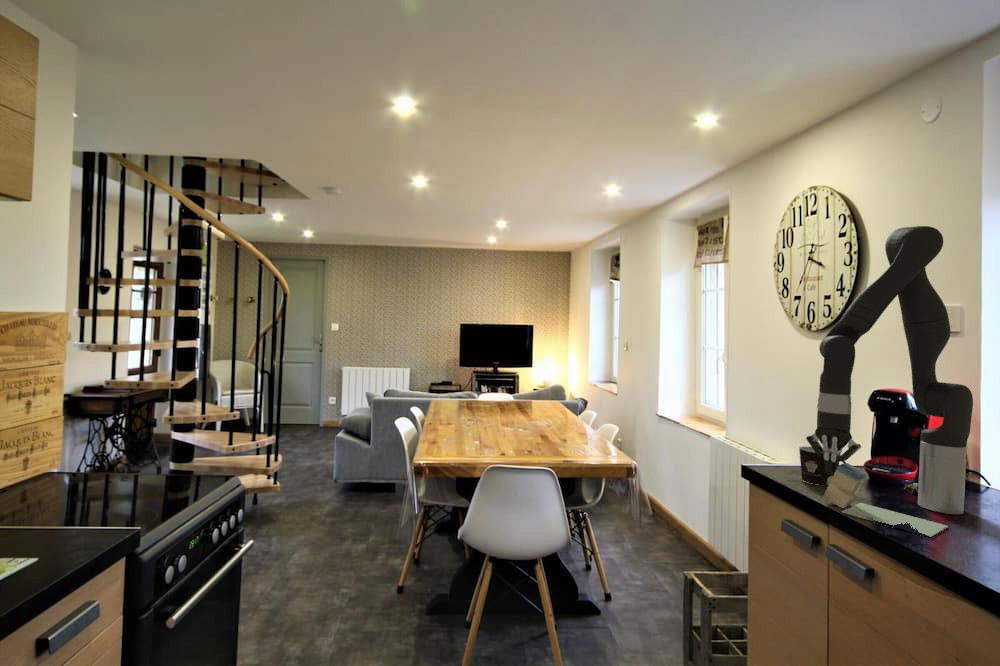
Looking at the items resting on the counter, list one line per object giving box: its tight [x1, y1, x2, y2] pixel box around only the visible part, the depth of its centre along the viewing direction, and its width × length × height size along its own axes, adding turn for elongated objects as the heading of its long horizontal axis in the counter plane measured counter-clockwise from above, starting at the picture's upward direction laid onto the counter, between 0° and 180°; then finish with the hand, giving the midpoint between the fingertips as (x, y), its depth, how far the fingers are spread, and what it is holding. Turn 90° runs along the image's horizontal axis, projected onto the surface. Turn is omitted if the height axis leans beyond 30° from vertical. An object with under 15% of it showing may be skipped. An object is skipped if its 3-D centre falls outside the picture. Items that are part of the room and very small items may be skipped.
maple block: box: [822, 462, 867, 507], centre depth 134 cm, size 5×5×10 cm
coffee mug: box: [798, 446, 847, 486], centre depth 153 cm, size 12×9×10 cm
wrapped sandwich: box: [903, 482, 919, 495], centre depth 146 cm, size 7×12×4 cm, turn 40°
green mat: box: [850, 502, 949, 538], centre depth 125 cm, size 12×18×1 cm, turn 35°
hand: (831, 474), depth 137 cm, fingers closed
